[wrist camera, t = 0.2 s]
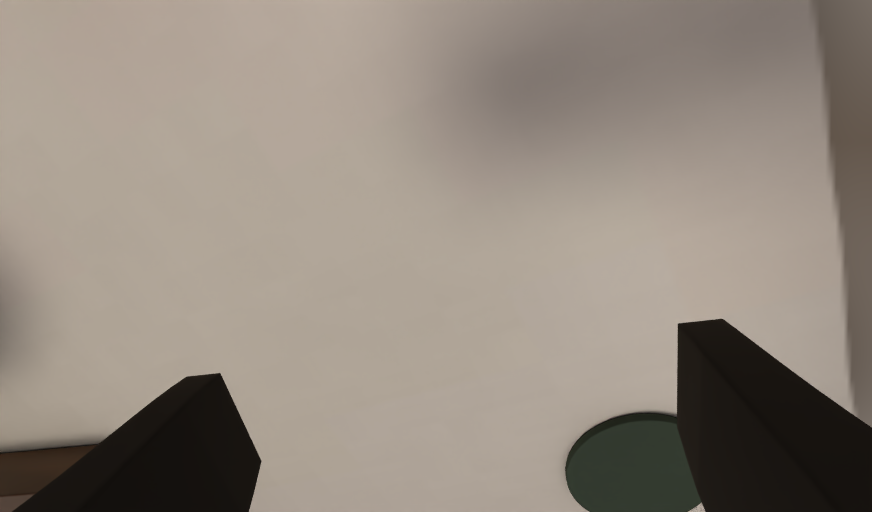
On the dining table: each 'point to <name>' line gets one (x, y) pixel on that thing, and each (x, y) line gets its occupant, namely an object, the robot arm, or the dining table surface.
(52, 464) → the holder
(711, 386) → the robot arm
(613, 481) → the coaster
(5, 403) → the dining table surface
